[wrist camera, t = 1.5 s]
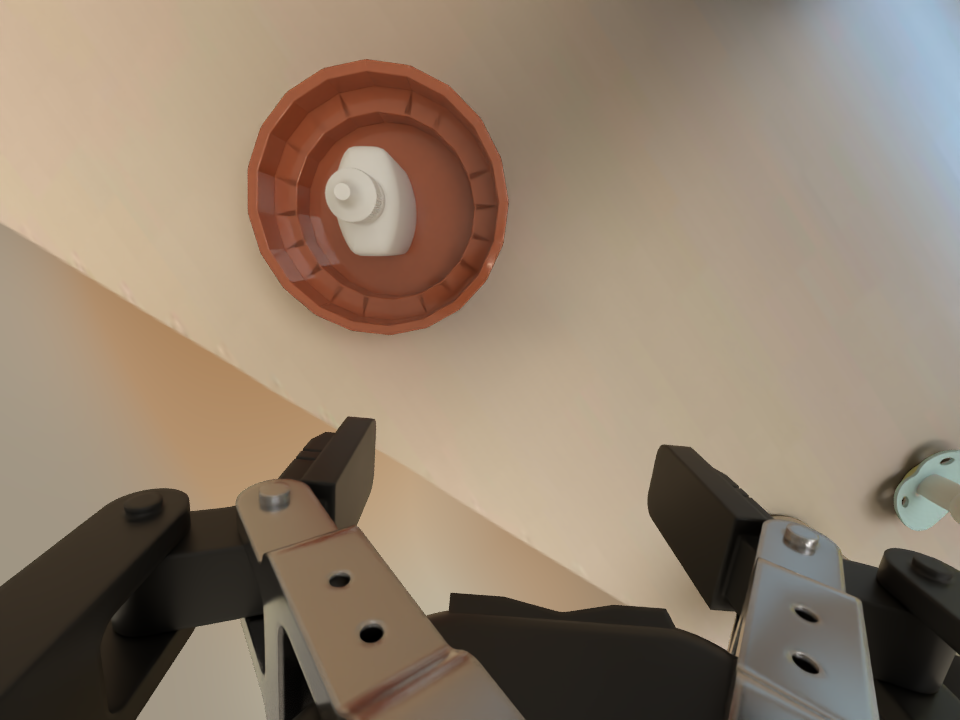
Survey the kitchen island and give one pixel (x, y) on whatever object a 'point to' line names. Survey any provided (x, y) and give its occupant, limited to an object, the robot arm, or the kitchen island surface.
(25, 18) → the kitchen island surface
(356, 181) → the eye dropper bottle
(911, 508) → the pacifier
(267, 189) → the bowl
